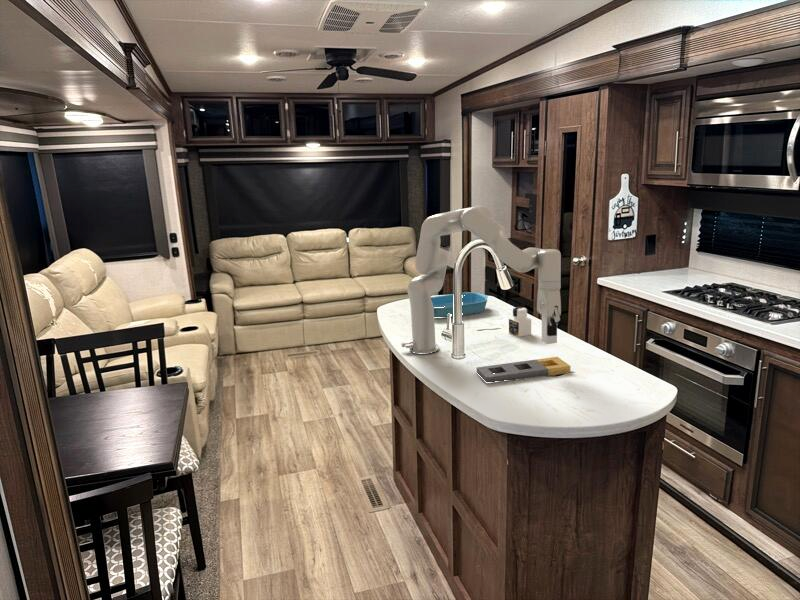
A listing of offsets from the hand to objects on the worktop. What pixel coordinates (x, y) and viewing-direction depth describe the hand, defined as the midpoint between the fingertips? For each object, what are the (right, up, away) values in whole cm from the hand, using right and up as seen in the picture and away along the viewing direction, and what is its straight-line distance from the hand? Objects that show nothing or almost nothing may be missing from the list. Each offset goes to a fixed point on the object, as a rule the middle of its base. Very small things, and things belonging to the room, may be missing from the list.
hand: (549, 333), depth 197 cm
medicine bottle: (-1, -3, +45) cm, 45 cm away
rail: (-9, -15, +2) cm, 17 cm away
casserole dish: (-26, +5, +85) cm, 89 cm away
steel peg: (0, -3, +1) cm, 3 cm away
